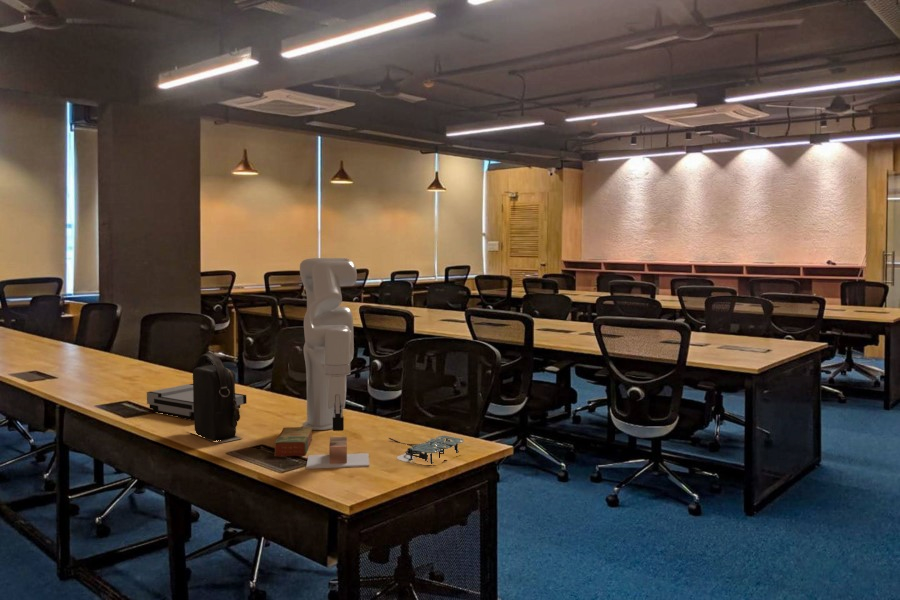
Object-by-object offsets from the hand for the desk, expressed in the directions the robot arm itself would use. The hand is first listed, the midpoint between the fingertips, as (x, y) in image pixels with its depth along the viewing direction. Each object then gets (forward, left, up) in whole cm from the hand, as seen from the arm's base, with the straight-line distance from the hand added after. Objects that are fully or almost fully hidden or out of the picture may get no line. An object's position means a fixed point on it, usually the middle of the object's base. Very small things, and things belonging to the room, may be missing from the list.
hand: (338, 430), depth 215 cm
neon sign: (-5, +23, -9) cm, 26 cm away
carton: (-14, -14, -9) cm, 22 cm away
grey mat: (+3, 0, -9) cm, 9 cm away
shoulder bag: (-33, -42, -9) cm, 54 cm away
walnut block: (-4, 0, -6) cm, 7 cm away
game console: (-70, -55, -9) cm, 90 cm away
